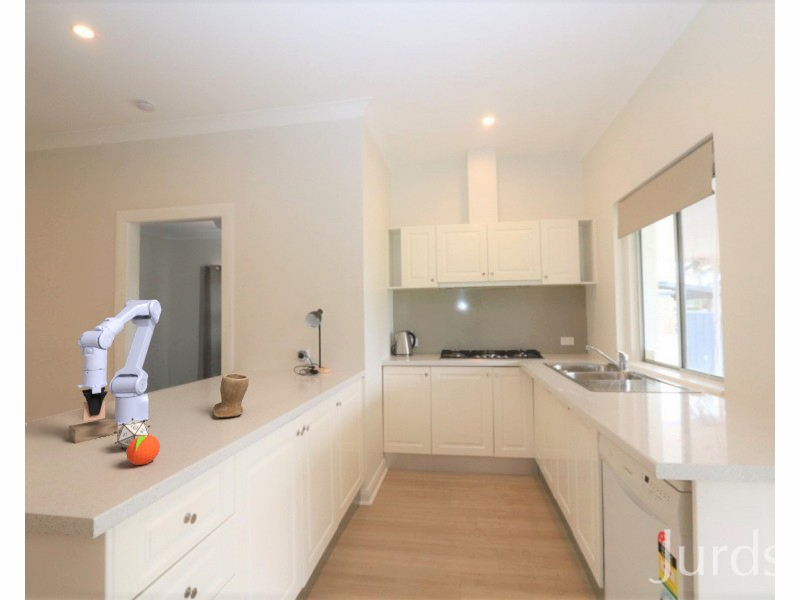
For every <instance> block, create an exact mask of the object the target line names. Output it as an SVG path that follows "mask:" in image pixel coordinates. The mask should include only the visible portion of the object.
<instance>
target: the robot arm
mask: <svg viewBox="0 0 800 600" xmlns="http://www.w3.org/2000/svg"><path fill="white" fill-rule="evenodd" d="M123 307H124V308H122V309H121V310H120V312H118V313H117V315H115V317H113V316H111V317H106V318H105V319H104V321H102V322H101V323H100V324H98V325H97V326H95V327H94V328H93V329H92V330H87V331H84V332H83V333H82V334H81V335H80V336H79V338H78V339H79V340H77V344H78V346H79V348H80V354H81V355H82V356H83V357H82V384H76V385H77V389H81V388H82V390H81V392H82V395H83V396H84V398H85V402H87V403H88V408H89V413H90V416H94V415H99V414H100V411H101V407H102V403H103V400H105V398H106V396H107V394H108V392H109V393H110V394H111V395H112V397H113V398H115V402H114V403H115V405H114V407H115V409H114V410H115V411H114V418H112V420H114V421H116V422H118V426H119V425H122V423H124V425H125V424H127V423H128V422H130V421H132V418H134V421H142V422H143V420H145V419H146V421H148V420H149V402H150V400H149V394H148V393H145V391H146V390H147V388H148V380H149V379H148V378H149V374H148V372H146V371H145V370H144V369H143V366H144V363H145V362H146V361H145V360H146V358H147V354H148V350H149V347H150V345H151V344H150V343H151V340H152V337H153V334H154V331H155V328H156V325H157V324H158V323H159V319H160V316H161V313H162V307H161V303H160V302H159V301H158V300H157V299H129V300H128V301H126V302H125V303H124V306H123ZM130 321H131V322H132V324H134V325H136V327H137V328H136V331H135V334H134V337H133V340H132V343H131V346H130V349H129V353H128V355H127V358H126V361H125V364H124V367H122V368H120V369H119V370H117V371H115V374H114V376H113V377H112V379H111V380H110V382H109V384H108V380H107V379H108V378H107V377H108V372H107V371H108V349H109V348H111V346H112V344H113V341H114V340H115V337H116V336H118V334H120V333H121V332H122V331H123V330H124V328H125V324H126V323H128V322H130ZM107 385H108V390H109V391H107V390H106V386H107Z"/></svg>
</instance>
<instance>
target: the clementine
mask: <svg viewBox="0 0 800 600" xmlns="http://www.w3.org/2000/svg"><path fill="white" fill-rule="evenodd" d="M151 435H152V434H151ZM151 435H150V434H149V435H143V436H139V437H137V438H135V439H134V440H133V441H132V442H131V443H130V444H129V446H128V448H126V458H127V460H128V461H129V462H130V463H131V464H133V465H136V466H139V465H140V466H141V465H142V466H143V465H147V464H149V463H150V462H152V461H153V460H154V459H156V457H157V456H158V454H159V453H160V451H161V450H160V449H161V444H160V441H159V439H158V438H157V437H155V436H154V435H152V436H151Z"/></svg>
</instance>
